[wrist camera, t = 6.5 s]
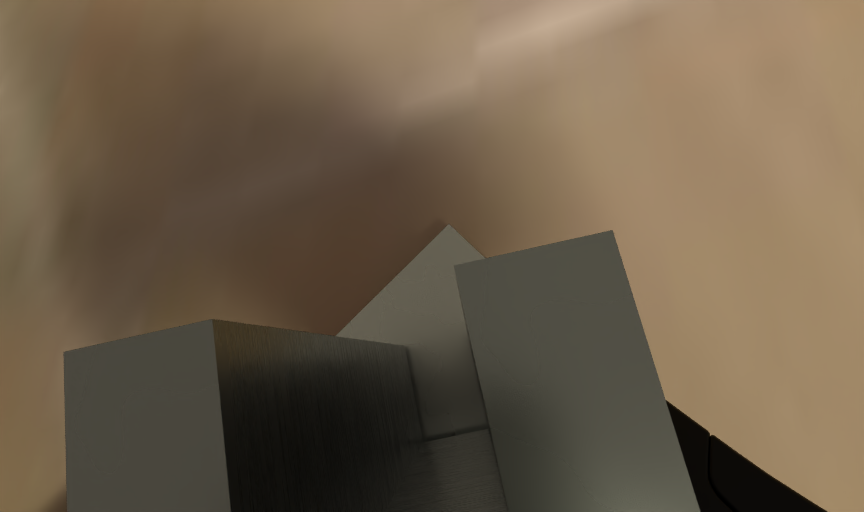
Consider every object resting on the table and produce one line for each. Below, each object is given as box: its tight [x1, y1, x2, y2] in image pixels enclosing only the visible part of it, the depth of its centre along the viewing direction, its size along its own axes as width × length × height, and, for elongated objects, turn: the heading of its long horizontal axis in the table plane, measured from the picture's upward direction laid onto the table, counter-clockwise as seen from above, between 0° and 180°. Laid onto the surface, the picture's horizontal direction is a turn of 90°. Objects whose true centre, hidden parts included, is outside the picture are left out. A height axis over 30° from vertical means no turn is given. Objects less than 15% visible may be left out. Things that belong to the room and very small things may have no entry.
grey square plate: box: [336, 224, 488, 442], centre depth 16 cm, size 9×9×1 cm
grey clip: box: [64, 230, 700, 512], centre depth 9 cm, size 4×5×12 cm
